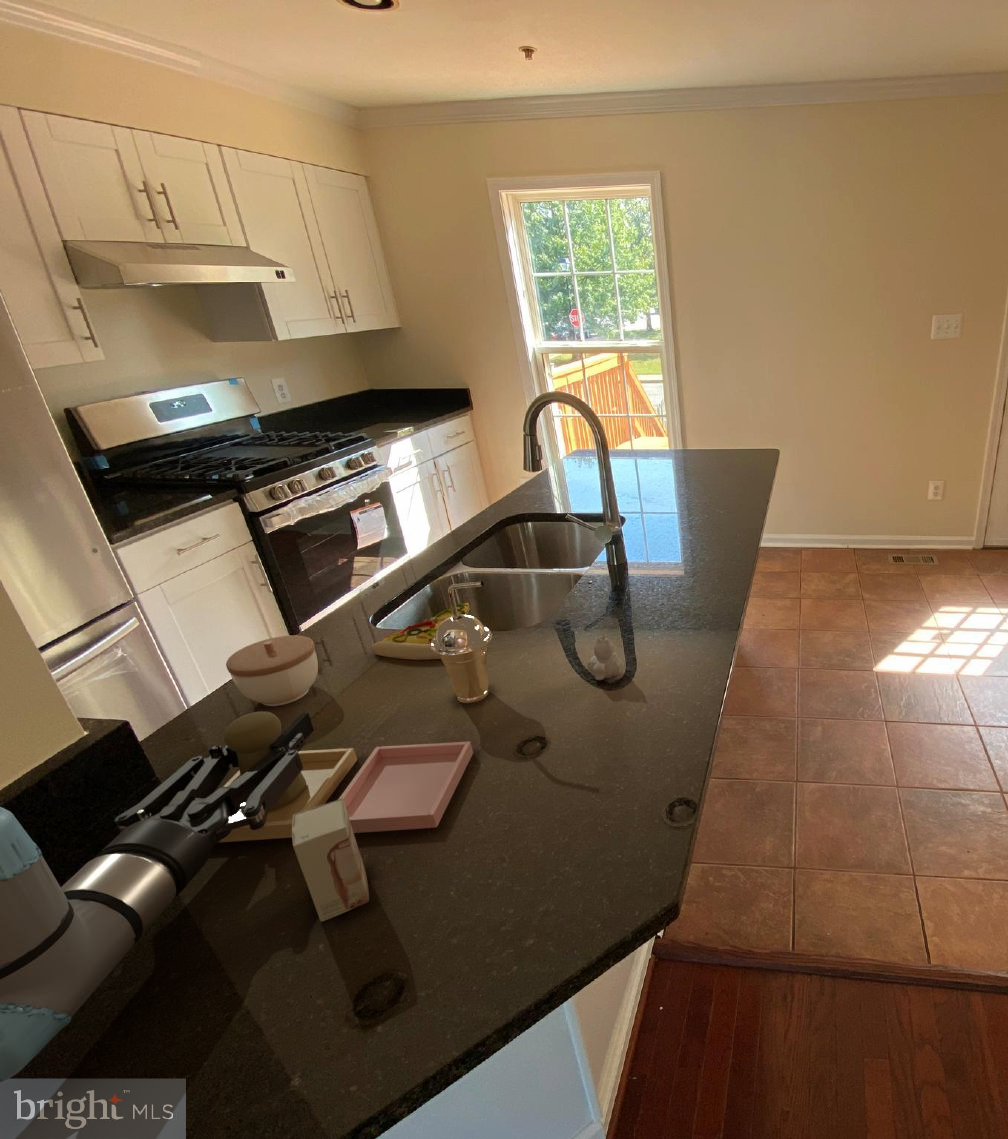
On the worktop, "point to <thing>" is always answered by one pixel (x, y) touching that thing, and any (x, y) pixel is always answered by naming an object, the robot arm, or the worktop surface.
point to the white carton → (330, 859)
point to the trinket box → (275, 669)
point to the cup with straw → (464, 650)
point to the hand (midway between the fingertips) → (287, 722)
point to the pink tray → (405, 786)
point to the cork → (259, 746)
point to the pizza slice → (415, 638)
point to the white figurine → (604, 660)
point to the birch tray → (321, 782)
